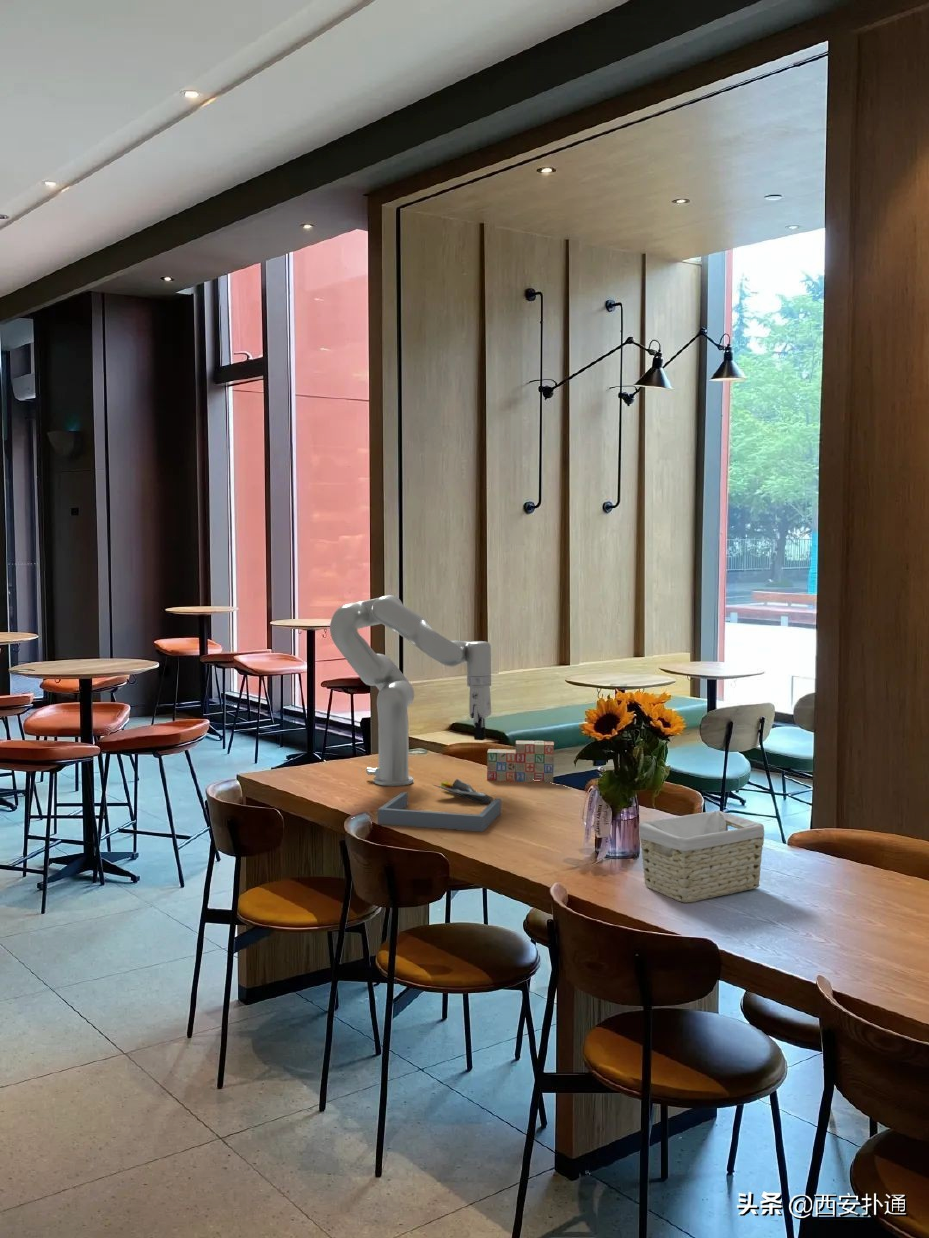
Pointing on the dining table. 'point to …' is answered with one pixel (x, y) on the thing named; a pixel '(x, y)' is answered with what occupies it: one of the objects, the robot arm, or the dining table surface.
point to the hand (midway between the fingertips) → (479, 739)
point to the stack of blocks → (522, 762)
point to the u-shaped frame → (436, 816)
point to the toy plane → (466, 791)
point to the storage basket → (701, 855)
